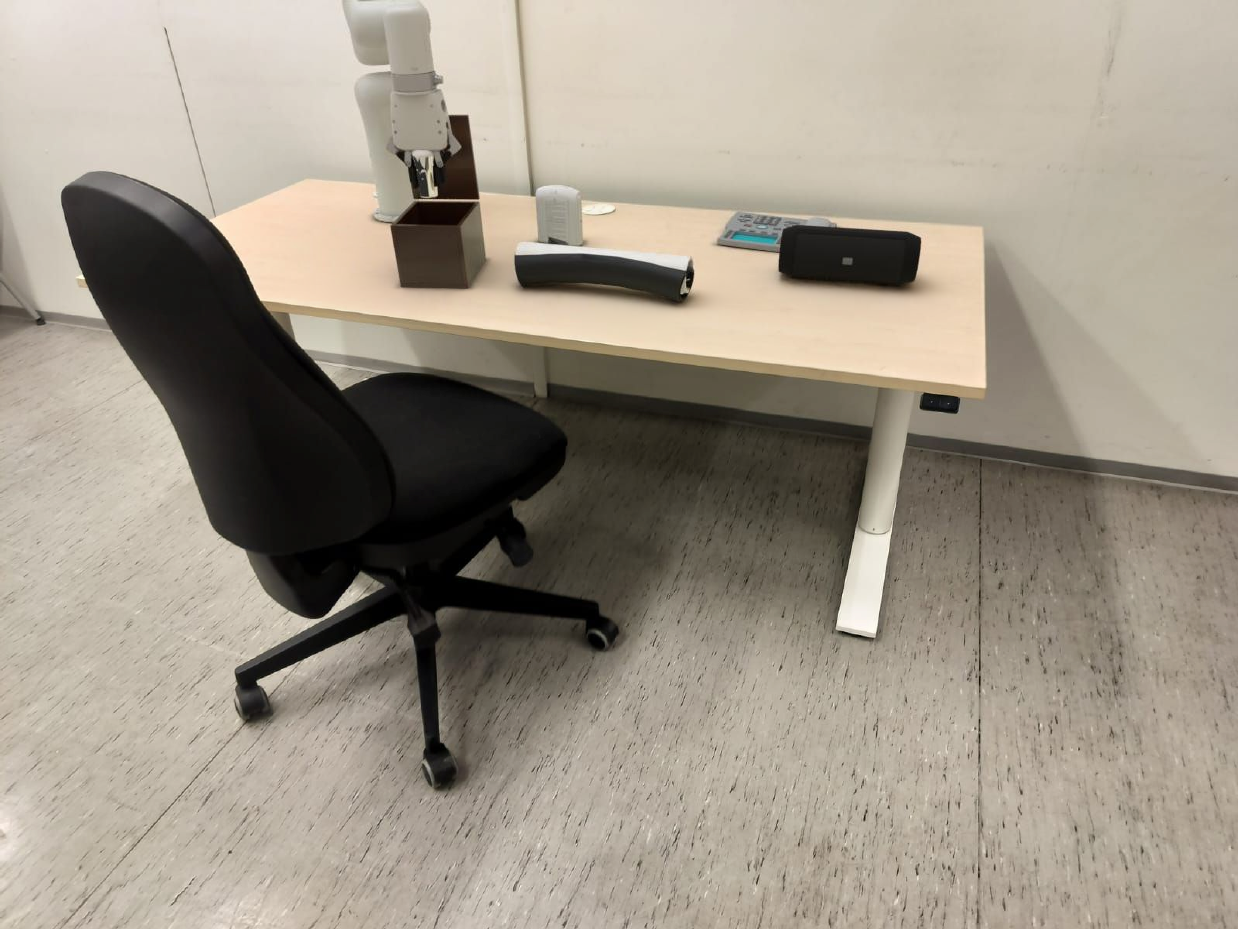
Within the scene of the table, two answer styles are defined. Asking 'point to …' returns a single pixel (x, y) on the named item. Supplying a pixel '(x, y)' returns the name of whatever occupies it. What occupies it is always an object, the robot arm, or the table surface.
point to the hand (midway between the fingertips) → (429, 185)
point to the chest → (439, 244)
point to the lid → (458, 165)
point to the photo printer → (559, 214)
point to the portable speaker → (849, 255)
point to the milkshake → (425, 172)
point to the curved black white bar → (604, 268)
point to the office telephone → (762, 230)
